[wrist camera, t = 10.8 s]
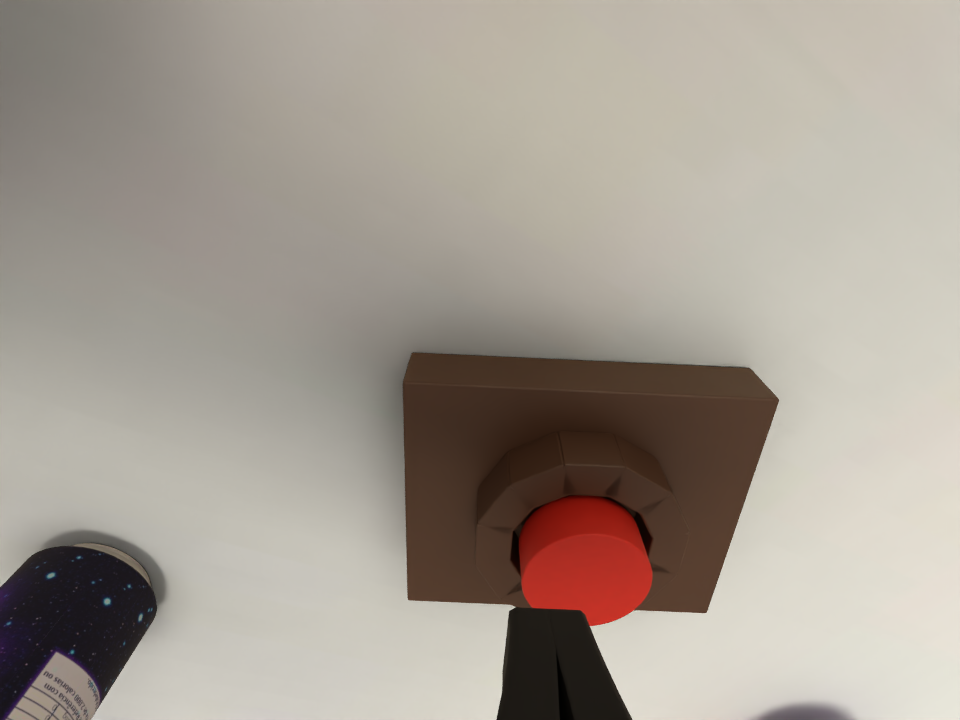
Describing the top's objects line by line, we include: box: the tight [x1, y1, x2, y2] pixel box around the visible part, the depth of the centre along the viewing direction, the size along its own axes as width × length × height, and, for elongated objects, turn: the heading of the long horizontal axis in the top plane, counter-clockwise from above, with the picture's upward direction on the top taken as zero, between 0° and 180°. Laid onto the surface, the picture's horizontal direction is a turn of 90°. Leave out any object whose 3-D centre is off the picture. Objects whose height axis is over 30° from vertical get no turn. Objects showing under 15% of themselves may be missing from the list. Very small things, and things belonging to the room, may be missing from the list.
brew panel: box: [403, 353, 779, 613], centre depth 20 cm, size 12×10×4 cm
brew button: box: [519, 495, 652, 626], centre depth 17 cm, size 4×4×2 cm
